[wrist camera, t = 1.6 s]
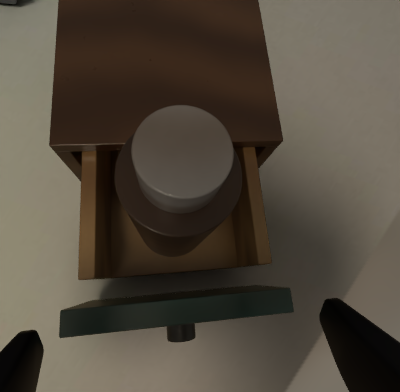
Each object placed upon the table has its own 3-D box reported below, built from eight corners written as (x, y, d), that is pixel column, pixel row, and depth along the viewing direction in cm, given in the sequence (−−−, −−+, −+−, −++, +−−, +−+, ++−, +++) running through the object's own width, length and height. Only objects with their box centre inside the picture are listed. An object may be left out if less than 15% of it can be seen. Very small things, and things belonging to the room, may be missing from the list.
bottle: (208, 254, 19) (271, 222, 8) (139, 259, 19) (100, 232, 7) (202, 190, 21) (249, 82, 9) (138, 193, 20) (102, 80, 8)
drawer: (260, 320, 20) (298, 338, 14) (90, 340, 18) (57, 368, 12) (236, 130, 23) (258, 86, 18) (94, 133, 22) (70, 85, 16)
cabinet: (246, 182, 23) (283, 140, 16) (87, 189, 22) (48, 145, 14) (227, 39, 27) (250, -47, 20) (91, 35, 25) (62, -61, 18)
